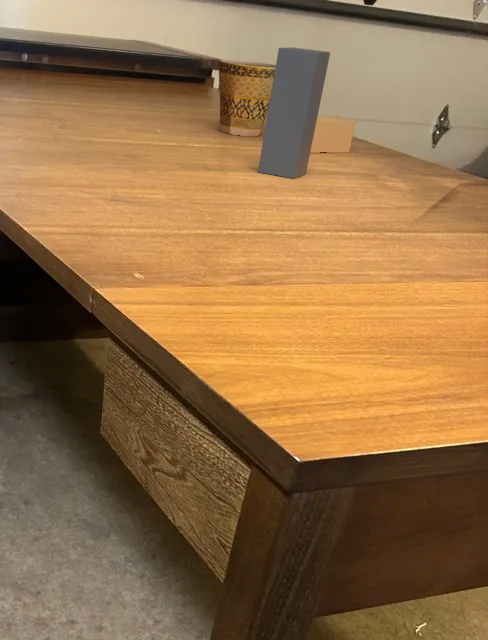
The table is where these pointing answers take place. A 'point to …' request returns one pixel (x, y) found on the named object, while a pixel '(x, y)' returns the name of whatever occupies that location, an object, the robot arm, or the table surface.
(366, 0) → the robot arm
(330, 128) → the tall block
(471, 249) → the table surface
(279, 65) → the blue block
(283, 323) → the table surface
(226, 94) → the ceramic cup
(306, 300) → the table surface
